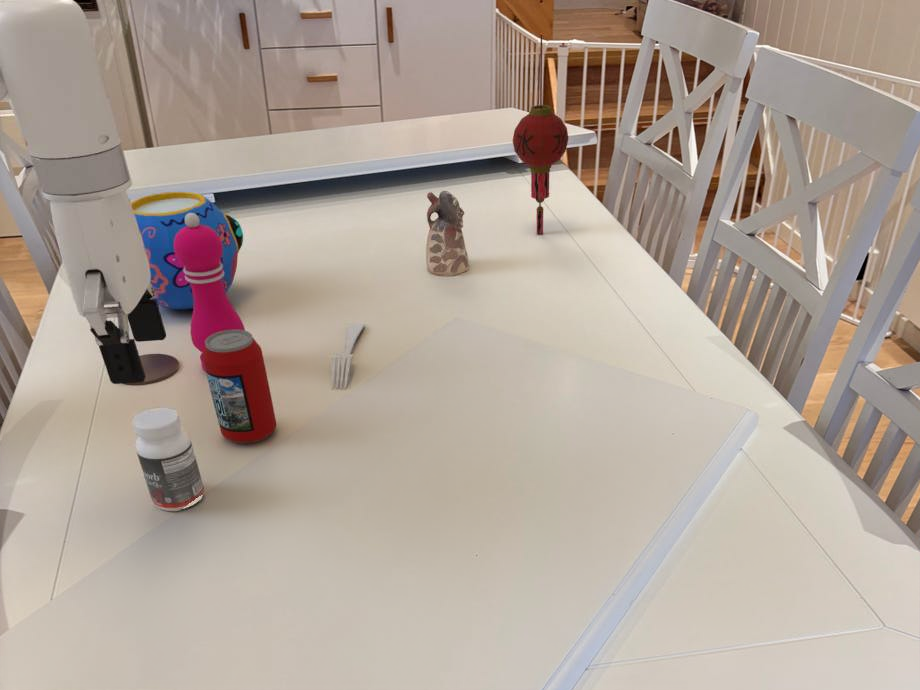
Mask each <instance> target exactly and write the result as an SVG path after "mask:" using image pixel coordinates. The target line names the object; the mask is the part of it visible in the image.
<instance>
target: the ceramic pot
mask: <svg viewBox="0 0 920 690" xmlns="http://www.w3.org/2000/svg"><path fill="white" fill-rule="evenodd" d="M130 203H131V206H132V209H133V212H134V215H135V218H136V221H137V224H138V227H139V230H140V233H141V237H142V240H143V243H144V247H145V251H146V254H147V258H148V262H149V267H150V273H151V279H150V283H151V284H152V286H153V288H154V291H155V298H151V299H150V300H153V299H156V300H157V304H158V307H163V308H167V309H170V310H192V309H194V299H193V293H192V288H191V285H190V282H188V281H187V280H186V279H185V273H184V271H183V269H184V267H185V265H183V264H182V263H181V262H180V261H179V260H178V259H177V257H176V255H175V251H174V239H175V236H176V234H177V233H178V232H179V231H180V230H181V229H183V228H184V227H186V226H187V225H186V223H185V216H186V215H187V214H188V213H194V214H196V215H197V216H198V217H199V221H200V222H199V225H205V226H208V227H210V228H211V229H213V230H214V231H215V232H216V233H217V234H218V236H219V237H220V240H221V242H222V246H223V254H222V256H221V258H220V260H219V262H220V263H222V265H223V268H222V269H223V271H224V276H223V277H222V281H223V287H224V290H225V293H226V294H227V292H228V291H229V289H230V288H231V286H232V284H233V282H234V279H235V277H236V272H237V267H238V256H239V252H240V250H241V248H242V246H243V242H244V234H243V233H244V232H243V229H242V227H241V224H240V223H239V221H238V220H237V219H235V218H234V217H233V216H231V215H228V214H226V213H224V212H223V211H222V210H221V209H220V208H219V207H218V205H216V204H215V203H214V202H212V201H211V200H210V199H208V198H207V197H205V196H204V195H202V194H199V193H196V192H192V191H191V192H190V191H167V192H161V193H155V194H154V193H153V194H149V195H147V196H143V197H139V198H137V199H135V200H133V201H132V202H131V201H130Z"/></svg>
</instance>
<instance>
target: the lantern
mask: <svg viewBox="0 0 920 690" xmlns="http://www.w3.org/2000/svg"><path fill="white" fill-rule="evenodd" d="M539 50H540V59H539V60H540V61H539V62H540V63H539V64H540V65H539V66H540V67H539V69H540V71H539V73H540V74H539V75H540V76H539V82H540V83H539V104H538V105H536V104H535V105H532V106H530V110H529V113H528V114H526V115H525V116H523V117H522V118H521V119H520V120H519V122H518V124H517V125H516V126H515V129H514V131H513V137H512V145H513V149H514V153H515V154H516V155H517V157H518V158H519V160H520V161H521V162H522V163H523V164H525V165H527V166H528V168H529V169H530V181H531V182H530V187H531V188H530V197H531V198H532V199H534V200H535V201H536V203H537V204H538V206H537V207H536V235H539V236H540V235H541V236H542V235H543V234H544V211H545V210H544V207H543V206H542V203H543V202H545V199H549V197H550V172H551V169H552V165H554V164H556V163H558V162H559V161H560V160H561V159H562V157H563V156H564V154H565V153H566V151H567V147H568V144H569V133H568V128H567V126H566V124H565V122H564V121H563V119H562V118H561V117H559V116H558V115H556V114H555V113H553V110H552V106H551V105H547V104H543V34H540V49H539Z"/></svg>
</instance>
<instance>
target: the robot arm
mask: <svg viewBox="0 0 920 690" xmlns="http://www.w3.org/2000/svg"><path fill="white" fill-rule="evenodd" d="M7 100H10V102H11V105H12V107H13V109H14V110H13V111H14V112H15V116H16V118H17V121H18V125H19V128H20V131H21V133H22V137H23V140H24V142H25V146H26V148H27V151H28V154H29V157H30V160H31V164H32V167H33V169H34V171H35V175H36V177H37V180H38V183H39V187H40V190H41V193H42V196H43V199H46V200H48V201H49V207H50V215H51V219H52V225H53V229H54V233H55V237H56V242H57V246H58V250H59V253H60V257H61V260H62V264H63V268H64V270H65V274H66V278H67V281H68V285H69V288H70V291H71V295H72V298H73V301H74V304H75V308H76V311H77V313H78V314H79V315H80V316H81V317H83V318H85V319H86V321H87V322H88V324H89V325H90V332H91V334H92V335H93V337H94V341H95V343H96V345H97V346H98V348H99V351H100V354H101V358H102V360H103V363H104V365H105V369H106V372H107V374H108V378H109V380H110V383H112V384H114V385H124V384H123V383H138V382H143V381H144V380H145V373H144V370H143V366H142V363H141V360H140V357H139V356H140V353H139V350H138V347H137V344H136V342H137V343H138V342H139V343H142V342H153V341H154V342H155V341H164V340H165V339H166V337H167V332H166V329H165V326H164V321H163V318H162V314H161V311H160V308H159V307H160V306H159V305H158V304H157V300H156V299H153V300H150V299H151V298H155V291H154V288H153V286H152V284H151V283H150V279H151V273H150V267H149V262H148V258H147V254H146V251H145V247H144V243H143V240H142V237H141V233H140V230H139V227H138V224H137V221H136V218H135V215H134V212H133V209H132V206H131V199H130V198H129V194H128V192H127V190H129V189H130V188H131V187H132V185H133V181H132V177H131V175H130V171H129V170H130V169H129V166H128V164H127V160H126V156H125V152H124V148H123V146H122V142H121V138H120V135H119V131H118V128H117V127H118V126H117V124H116V120H115V117H114V113H113V109H112V105H111V102H110V99H109V96H108V91H107V87H106V84H105V80H104V78H103V73H102V70H101V66H100V62H99V59H98V55H97V51H96V47H95V44H94V40H93V37H92V33H91V30H90V26H89V22H88V20H87V17H86V15H85V13H84V10H83V9H82V7H81V6H80V5H79V4H78V3H77V1H75V0H0V102H4V101H7ZM110 305H118V306H110ZM113 318H115V319H116V318H117V325H118V326H117V325H116V324H115V323H114V322H113V321H112V320H108V319H113ZM130 330H131V334H132V337H133V338H130Z"/></svg>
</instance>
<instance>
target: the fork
mask: <svg viewBox="0 0 920 690" xmlns="http://www.w3.org/2000/svg"><path fill="white" fill-rule="evenodd" d="M364 327H365V323H350V324H348V325H347V327H346V343H345V349H344V352H343V353H340V354H339V353H338V354H333V355H332V356H331V390H334V385H335V383H336V386H335V388H336V389H335V390H338V388H339V387H340V388H339V390H342V387H343V381H344V390H346V389H347V384H348V380H349V379H348V378H349V374H350V368H351V363H352V358H353V357H354V353H352V350H353V348H354V345H355V343H356V341H357V339H358V337H359V335H360V333H361V332H362V331H363V329H364ZM335 374H336V377H335ZM335 378H336V379H335ZM335 380H336V382H335ZM339 380H340V382H339ZM339 383H340V385H339Z"/></svg>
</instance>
